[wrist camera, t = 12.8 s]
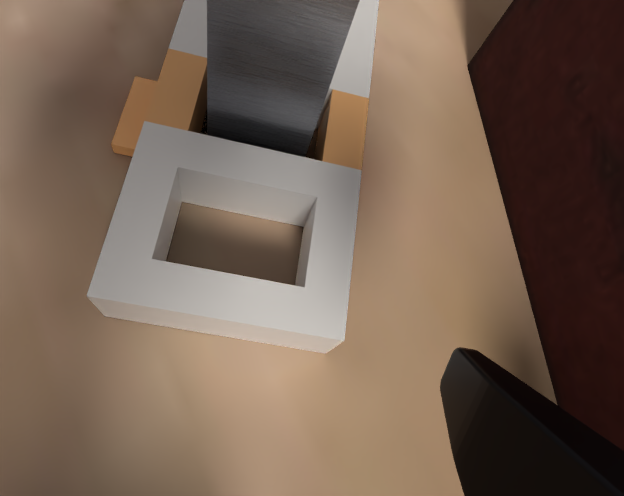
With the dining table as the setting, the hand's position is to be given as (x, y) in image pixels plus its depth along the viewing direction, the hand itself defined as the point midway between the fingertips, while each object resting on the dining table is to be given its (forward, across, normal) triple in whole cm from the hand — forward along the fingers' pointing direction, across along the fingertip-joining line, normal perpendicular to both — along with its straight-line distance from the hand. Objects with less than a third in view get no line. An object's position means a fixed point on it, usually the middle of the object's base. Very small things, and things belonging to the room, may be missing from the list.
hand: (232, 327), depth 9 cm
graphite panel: (+19, 0, 0) cm, 19 cm away
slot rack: (+19, 0, 0) cm, 19 cm away
